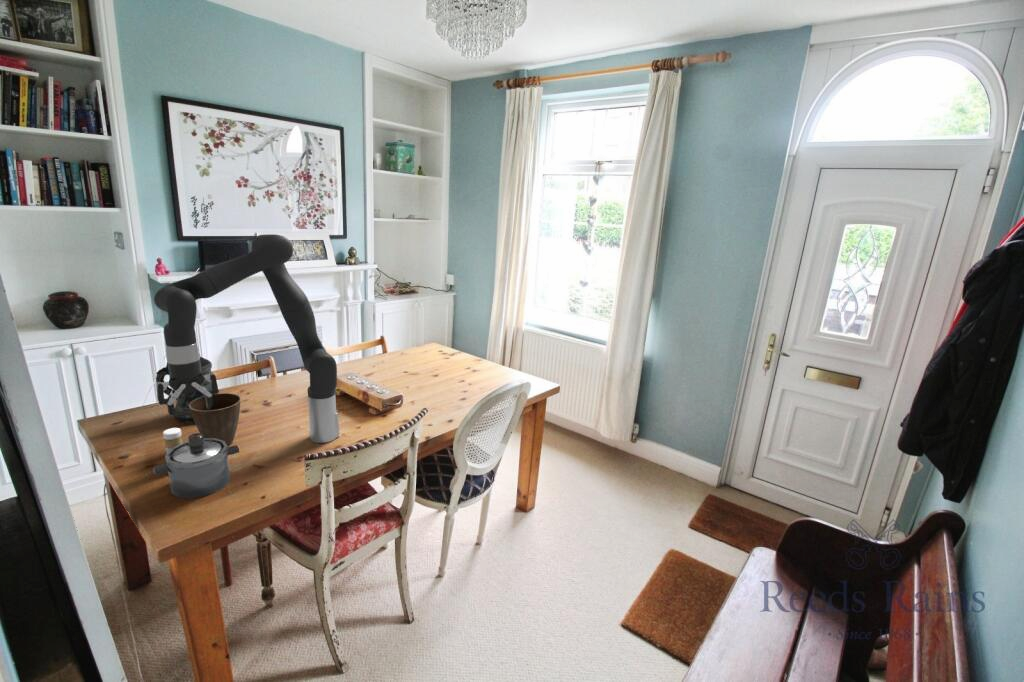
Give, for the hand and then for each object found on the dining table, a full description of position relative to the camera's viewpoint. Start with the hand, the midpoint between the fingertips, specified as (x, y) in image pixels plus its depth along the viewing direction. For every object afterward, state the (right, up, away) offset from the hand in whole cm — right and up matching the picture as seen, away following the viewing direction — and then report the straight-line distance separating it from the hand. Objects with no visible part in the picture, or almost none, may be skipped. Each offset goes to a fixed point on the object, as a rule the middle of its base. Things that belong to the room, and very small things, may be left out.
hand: (191, 411), depth 135 cm
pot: (-2, -23, +7) cm, 24 cm away
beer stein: (-30, -9, +47) cm, 57 cm away
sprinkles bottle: (-13, -20, +13) cm, 28 cm away
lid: (-1, -13, +4) cm, 14 cm away
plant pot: (-10, -16, +29) cm, 35 cm away
